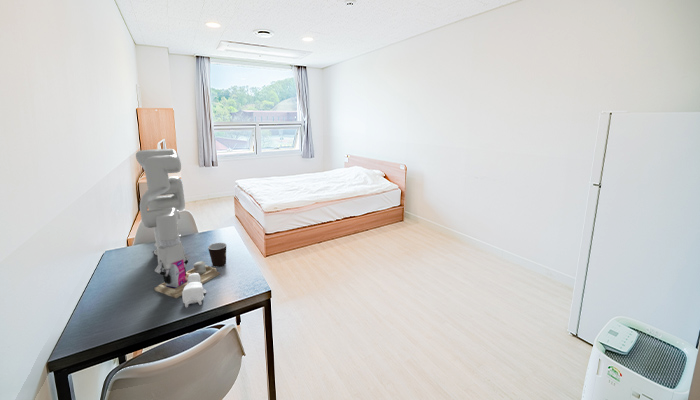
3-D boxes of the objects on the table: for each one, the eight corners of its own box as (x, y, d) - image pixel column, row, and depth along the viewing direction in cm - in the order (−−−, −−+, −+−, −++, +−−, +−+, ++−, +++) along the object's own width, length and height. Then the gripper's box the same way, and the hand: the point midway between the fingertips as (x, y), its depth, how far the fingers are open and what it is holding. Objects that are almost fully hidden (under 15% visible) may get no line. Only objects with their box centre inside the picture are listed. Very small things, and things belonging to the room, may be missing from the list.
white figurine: (206, 308, 131) (206, 280, 142) (203, 295, 126) (204, 267, 137) (183, 313, 128) (185, 283, 139) (179, 299, 123) (181, 270, 134)
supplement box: (177, 288, 137) (173, 264, 134) (165, 287, 138) (161, 263, 135) (186, 281, 142) (183, 258, 139) (175, 280, 143) (171, 257, 140)
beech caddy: (154, 290, 138) (152, 277, 137) (199, 268, 158) (198, 256, 157) (176, 298, 132) (174, 285, 131) (219, 274, 152) (218, 262, 151)
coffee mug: (222, 268, 158) (219, 250, 155) (206, 267, 159) (204, 248, 157) (234, 258, 169) (233, 241, 166) (220, 257, 170) (218, 239, 168)
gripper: (182, 233, 143) (187, 268, 148) (143, 247, 128) (150, 286, 133) (193, 236, 140) (198, 272, 145) (155, 250, 125) (162, 290, 130)
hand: (175, 278), depth 139 cm, fingers closed on supplement box, 6 cm apart
